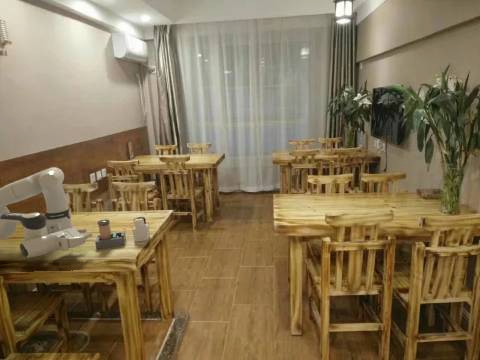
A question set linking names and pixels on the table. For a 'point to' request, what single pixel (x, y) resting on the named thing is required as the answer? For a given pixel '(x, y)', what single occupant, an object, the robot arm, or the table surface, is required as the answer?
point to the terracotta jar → (104, 229)
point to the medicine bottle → (141, 230)
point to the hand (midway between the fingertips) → (88, 232)
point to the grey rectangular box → (111, 241)
